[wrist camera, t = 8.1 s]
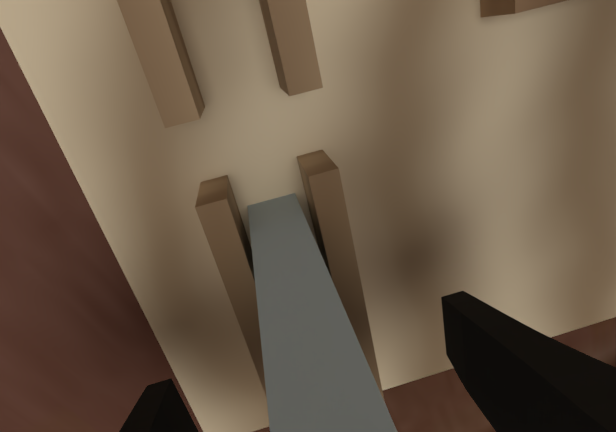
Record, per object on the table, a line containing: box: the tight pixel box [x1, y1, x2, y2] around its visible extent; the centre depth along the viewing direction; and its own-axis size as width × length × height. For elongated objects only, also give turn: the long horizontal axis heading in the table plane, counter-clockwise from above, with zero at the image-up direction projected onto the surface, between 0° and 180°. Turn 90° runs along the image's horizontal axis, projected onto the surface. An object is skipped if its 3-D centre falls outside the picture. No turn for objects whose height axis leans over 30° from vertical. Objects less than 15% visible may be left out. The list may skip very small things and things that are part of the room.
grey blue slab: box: [247, 193, 397, 432], centre depth 10 cm, size 2×7×9 cm, turn 13°
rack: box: [0, 0, 616, 432], centre depth 11 cm, size 20×22×3 cm
